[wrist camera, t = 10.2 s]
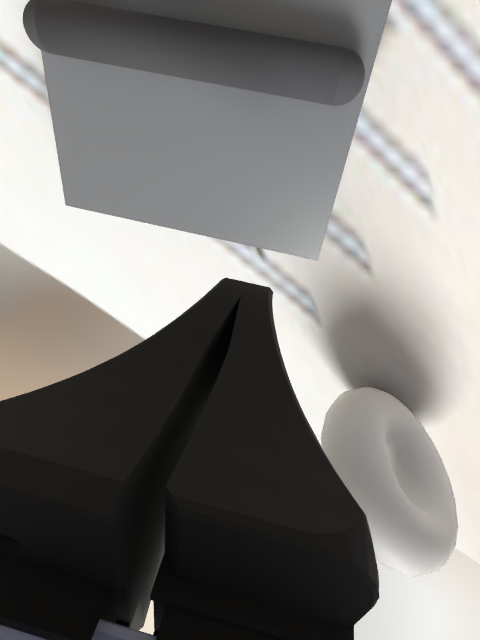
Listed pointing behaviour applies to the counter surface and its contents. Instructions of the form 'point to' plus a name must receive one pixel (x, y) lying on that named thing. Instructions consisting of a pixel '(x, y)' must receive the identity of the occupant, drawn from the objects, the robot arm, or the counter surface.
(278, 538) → the robot arm
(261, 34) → the box
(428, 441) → the donut
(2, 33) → the counter surface
